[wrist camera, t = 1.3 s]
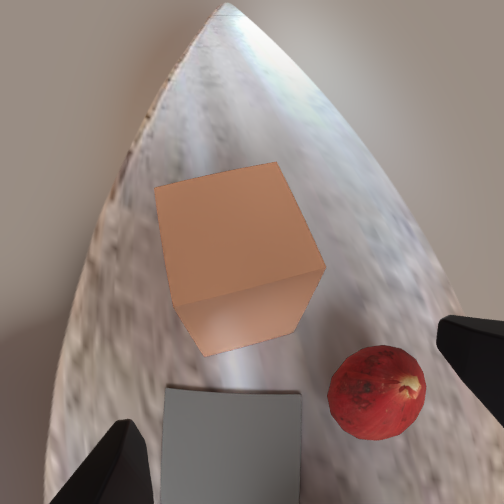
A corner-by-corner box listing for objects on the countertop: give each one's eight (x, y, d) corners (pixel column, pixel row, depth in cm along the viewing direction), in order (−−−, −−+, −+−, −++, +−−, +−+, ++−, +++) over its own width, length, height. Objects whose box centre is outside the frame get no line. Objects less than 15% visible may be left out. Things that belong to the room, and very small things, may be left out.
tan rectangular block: (293, 332, 22) (326, 267, 13) (204, 356, 20) (173, 307, 12) (265, 256, 25) (276, 161, 16) (185, 276, 24) (154, 187, 15)
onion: (307, 430, 18) (342, 436, 11) (326, 352, 21) (366, 315, 14) (385, 441, 17) (449, 444, 10) (398, 366, 20) (461, 335, 13)
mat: (297, 515, 15) (298, 516, 14) (161, 507, 15) (160, 508, 14) (300, 394, 19) (301, 394, 19) (166, 388, 19) (165, 387, 19)
